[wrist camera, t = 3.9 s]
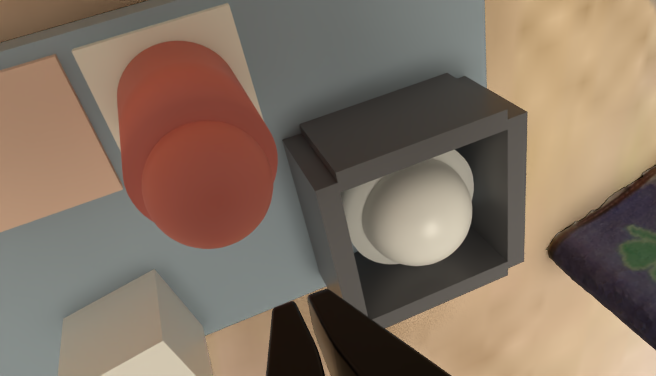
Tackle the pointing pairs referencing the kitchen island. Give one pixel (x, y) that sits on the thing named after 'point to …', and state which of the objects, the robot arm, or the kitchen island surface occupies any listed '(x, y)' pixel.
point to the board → (105, 151)
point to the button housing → (401, 152)
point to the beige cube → (134, 334)
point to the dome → (412, 212)
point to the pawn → (193, 146)
